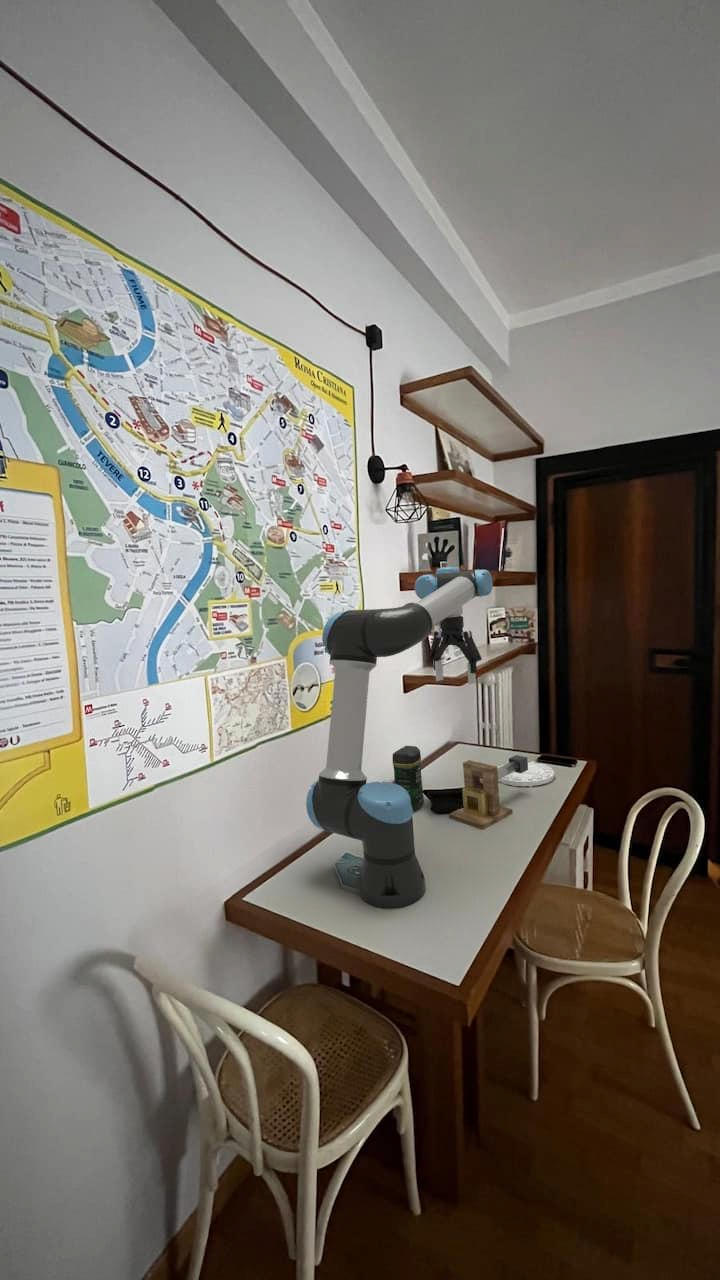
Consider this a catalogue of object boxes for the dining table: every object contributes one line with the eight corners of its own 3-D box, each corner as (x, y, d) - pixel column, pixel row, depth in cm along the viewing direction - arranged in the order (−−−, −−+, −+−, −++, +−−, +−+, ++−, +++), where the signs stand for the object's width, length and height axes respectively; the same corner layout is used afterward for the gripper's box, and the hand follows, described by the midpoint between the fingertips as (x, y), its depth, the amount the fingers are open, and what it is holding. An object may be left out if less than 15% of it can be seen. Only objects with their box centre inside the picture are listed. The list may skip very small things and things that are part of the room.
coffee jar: (416, 813, 162) (411, 753, 160) (392, 810, 166) (387, 752, 164) (427, 801, 170) (423, 744, 169) (404, 799, 174) (400, 743, 173)
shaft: (486, 789, 155) (485, 776, 155) (475, 786, 158) (474, 773, 158) (528, 769, 169) (527, 757, 168) (517, 767, 172) (516, 755, 171)
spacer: (483, 818, 152) (481, 794, 151) (463, 812, 157) (462, 789, 157) (488, 815, 154) (487, 792, 153) (469, 809, 159) (467, 786, 158)
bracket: (482, 829, 148) (479, 776, 147) (449, 817, 157) (445, 768, 156) (512, 813, 157) (509, 763, 156) (479, 803, 166) (476, 755, 165)
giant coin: (515, 765, 199) (515, 757, 199) (565, 775, 184) (565, 767, 184) (482, 780, 186) (481, 772, 186) (532, 793, 171) (532, 784, 171)
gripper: (490, 614, 164) (494, 682, 166) (430, 615, 184) (434, 677, 185) (474, 616, 159) (479, 687, 161) (415, 617, 179) (419, 680, 181)
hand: (455, 682), depth 173 cm, fingers open, 13 cm apart
